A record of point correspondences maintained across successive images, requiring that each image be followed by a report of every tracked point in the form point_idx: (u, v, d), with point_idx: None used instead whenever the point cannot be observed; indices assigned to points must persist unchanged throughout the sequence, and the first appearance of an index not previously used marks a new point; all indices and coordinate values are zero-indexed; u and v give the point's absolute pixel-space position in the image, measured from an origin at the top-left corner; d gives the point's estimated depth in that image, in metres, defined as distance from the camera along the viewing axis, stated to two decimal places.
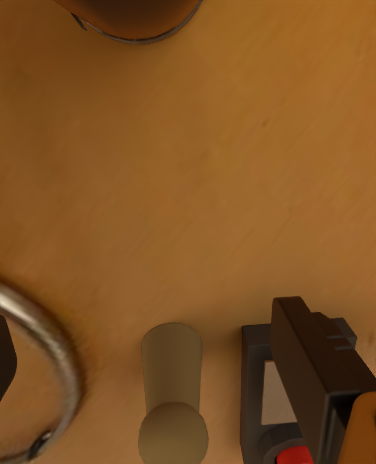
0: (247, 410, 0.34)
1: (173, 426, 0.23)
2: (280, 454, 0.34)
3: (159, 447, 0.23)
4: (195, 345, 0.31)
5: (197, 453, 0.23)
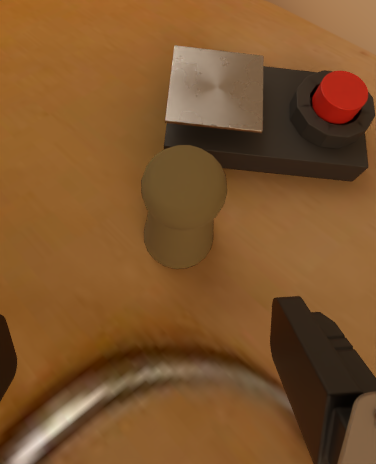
0: (263, 155, 0.29)
1: (143, 174, 0.20)
2: (324, 118, 0.29)
3: (156, 186, 0.19)
4: None
5: (179, 149, 0.19)
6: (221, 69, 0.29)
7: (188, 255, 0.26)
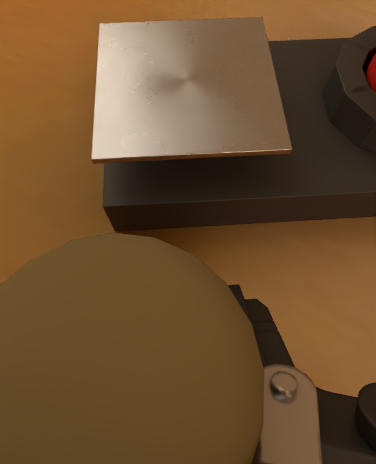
0: (297, 193, 0.15)
1: None
2: None
3: None
4: None
5: (64, 263, 0.05)
6: (190, 49, 0.16)
7: None
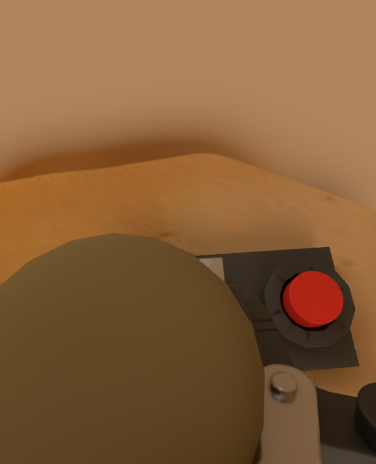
0: None
1: None
2: (300, 324, 0.26)
3: None
4: None
5: (64, 264, 0.05)
6: None
7: None
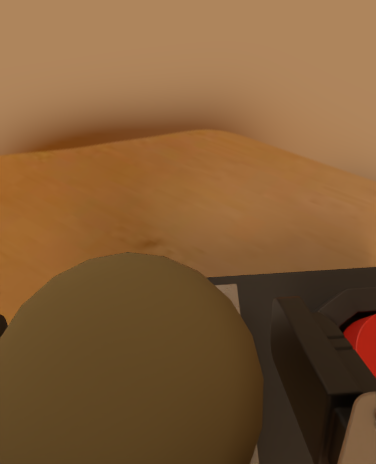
0: None
1: None
2: None
3: (6, 457, 0.05)
4: None
5: (87, 283, 0.06)
6: None
7: None
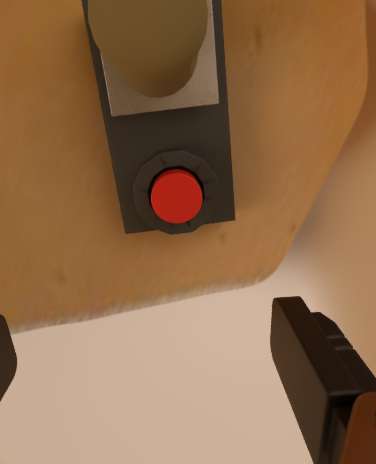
0: (106, 125, 0.27)
1: None
2: (153, 184, 0.27)
3: None
4: None
5: None
6: None
7: None
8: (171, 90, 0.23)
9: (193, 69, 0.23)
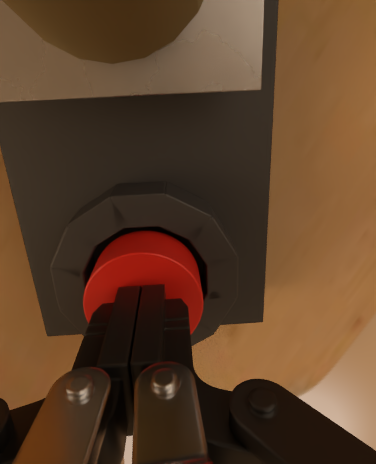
0: None
1: None
2: (97, 260, 0.12)
3: None
4: None
5: None
6: None
7: None
8: (135, 39, 0.08)
9: None
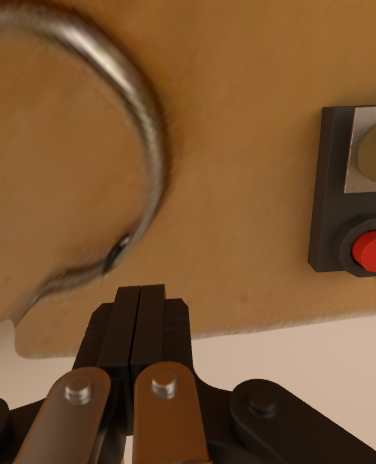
0: (326, 194, 0.36)
1: None
2: (357, 240, 0.36)
3: None
4: None
5: None
6: None
7: None
8: None
9: None
